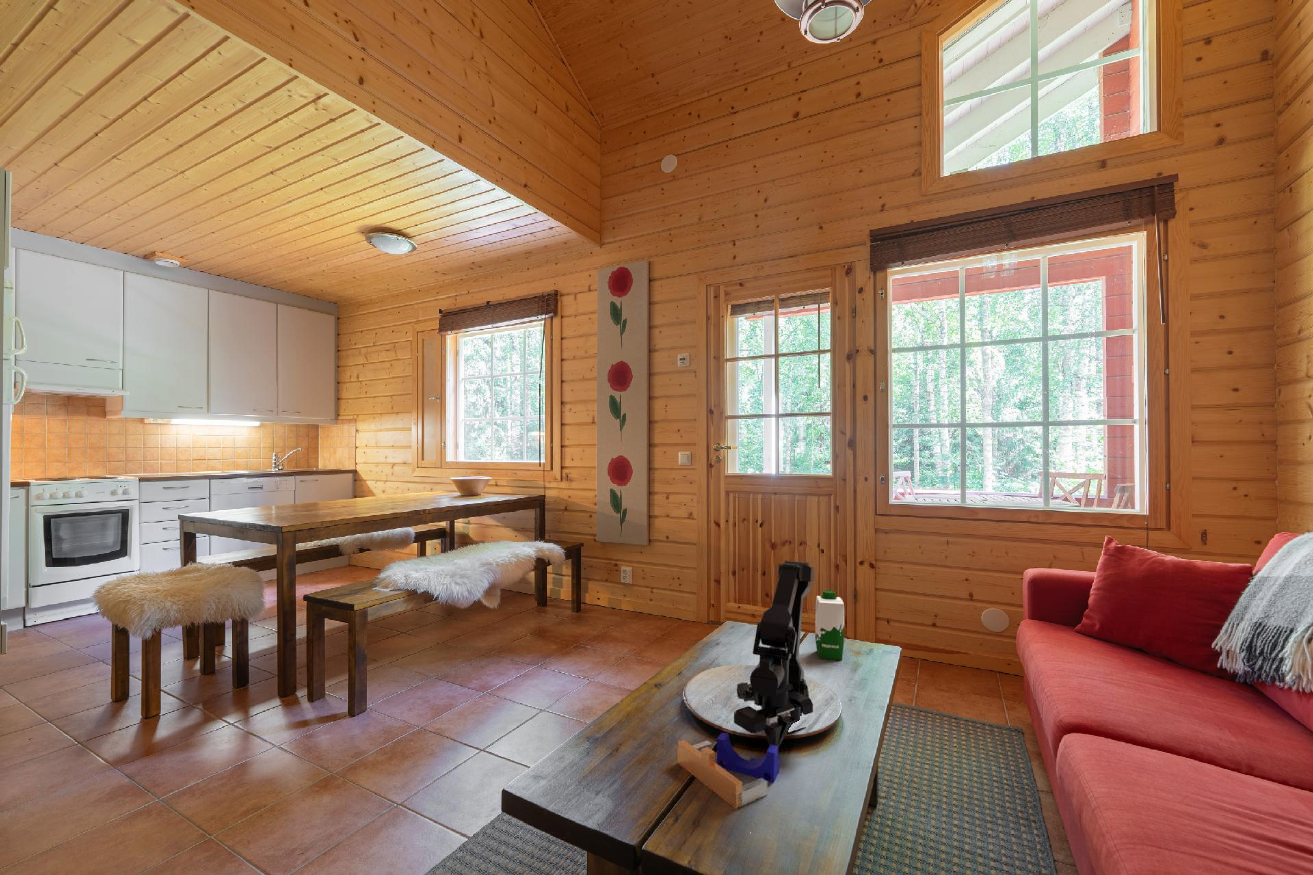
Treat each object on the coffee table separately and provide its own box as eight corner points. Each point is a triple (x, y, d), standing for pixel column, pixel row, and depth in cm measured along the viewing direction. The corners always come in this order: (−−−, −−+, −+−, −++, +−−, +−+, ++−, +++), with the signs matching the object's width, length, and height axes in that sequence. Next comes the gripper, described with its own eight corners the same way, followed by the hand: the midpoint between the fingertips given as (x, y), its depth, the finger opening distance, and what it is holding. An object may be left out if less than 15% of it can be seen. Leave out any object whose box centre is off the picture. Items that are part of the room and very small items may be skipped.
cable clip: (779, 772, 117) (779, 742, 117) (773, 783, 113) (774, 753, 113) (723, 757, 122) (724, 728, 122) (716, 767, 118) (717, 738, 118)
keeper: (707, 751, 124) (707, 722, 124) (767, 794, 109) (767, 760, 109) (677, 762, 119) (678, 731, 119) (735, 808, 104) (736, 773, 104)
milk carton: (841, 651, 187) (842, 590, 187) (845, 661, 178) (846, 597, 178) (813, 649, 188) (814, 588, 188) (816, 659, 179) (817, 595, 179)
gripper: (777, 657, 135) (776, 724, 134) (717, 674, 124) (716, 746, 124) (815, 673, 125) (814, 745, 125) (753, 692, 115) (751, 770, 115)
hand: (773, 750), depth 122 cm, fingers closed
